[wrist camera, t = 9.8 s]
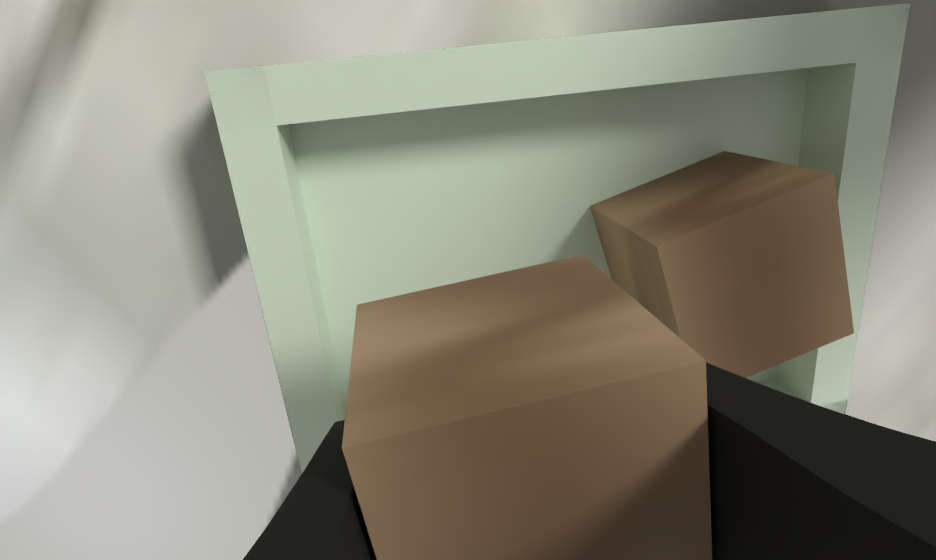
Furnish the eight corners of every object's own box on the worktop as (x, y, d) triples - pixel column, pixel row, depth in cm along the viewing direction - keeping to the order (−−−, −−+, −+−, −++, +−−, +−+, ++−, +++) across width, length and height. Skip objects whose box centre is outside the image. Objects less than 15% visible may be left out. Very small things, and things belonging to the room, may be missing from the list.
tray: (833, 14, 15) (910, 3, 13) (789, 392, 20) (842, 433, 17) (232, 73, 14) (204, 71, 12) (323, 473, 18) (314, 529, 16)
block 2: (724, 150, 15) (834, 173, 12) (749, 277, 17) (853, 333, 13) (589, 206, 15) (656, 246, 12) (626, 327, 17) (696, 398, 13)
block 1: (582, 254, 10) (705, 359, 6) (603, 441, 11) (714, 620, 8) (356, 304, 10) (341, 448, 6) (406, 490, 11) (421, 701, 7)
